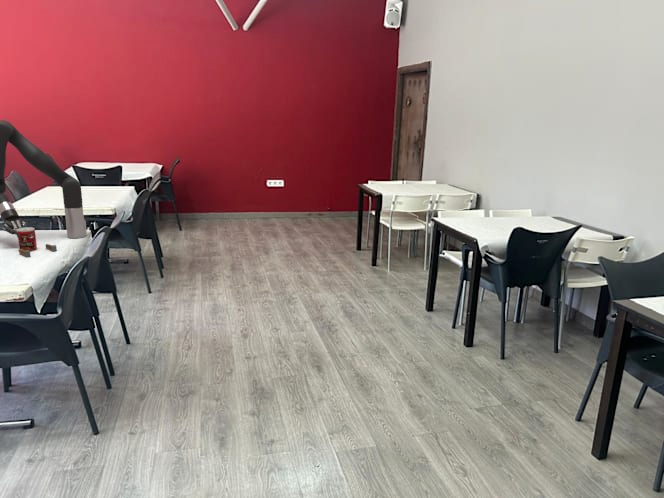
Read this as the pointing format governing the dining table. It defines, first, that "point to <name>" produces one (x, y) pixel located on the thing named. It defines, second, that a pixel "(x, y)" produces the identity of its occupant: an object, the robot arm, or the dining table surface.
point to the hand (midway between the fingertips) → (22, 239)
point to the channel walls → (22, 252)
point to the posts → (27, 253)
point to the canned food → (27, 238)
